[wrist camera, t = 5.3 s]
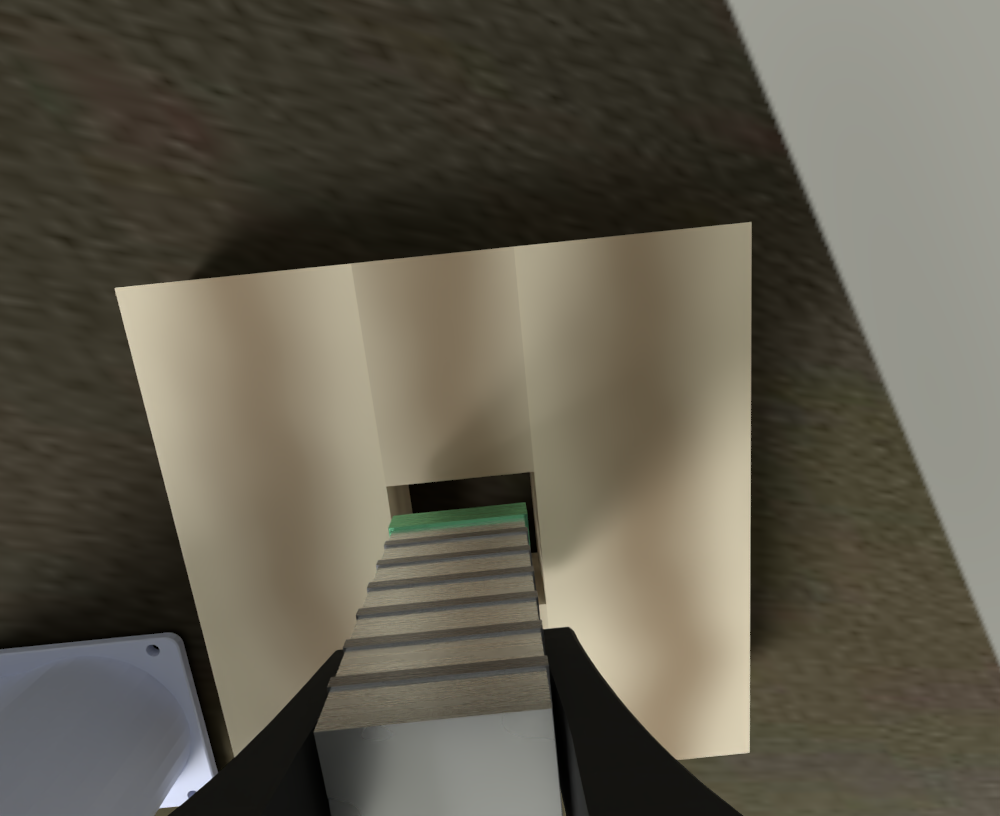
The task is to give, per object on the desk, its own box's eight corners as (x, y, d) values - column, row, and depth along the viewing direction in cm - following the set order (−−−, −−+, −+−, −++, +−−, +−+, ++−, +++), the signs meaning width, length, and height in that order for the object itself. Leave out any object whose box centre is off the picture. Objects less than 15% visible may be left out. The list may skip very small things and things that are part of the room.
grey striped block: (412, 629, 17) (347, 918, 9) (393, 514, 16) (305, 727, 8) (536, 617, 16) (575, 897, 9) (525, 500, 16) (557, 701, 8)
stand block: (282, 724, 23) (235, 824, 19) (182, 286, 19) (94, 288, 15) (710, 682, 23) (760, 772, 18) (703, 233, 19) (765, 218, 14)
